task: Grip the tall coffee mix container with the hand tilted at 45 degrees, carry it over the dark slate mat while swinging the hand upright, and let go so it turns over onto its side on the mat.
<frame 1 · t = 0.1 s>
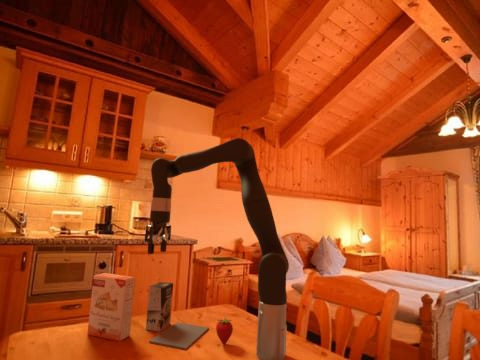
hand: (157, 252, 115), 29 cm above the table, tool pointing down, fingers open, 8 cm apart
coffee box: (158, 327, 118), on the table
cracker box: (108, 336, 107), on the table
slate mat: (181, 335, 111), on the table
strawberry: (223, 345, 105), on the table
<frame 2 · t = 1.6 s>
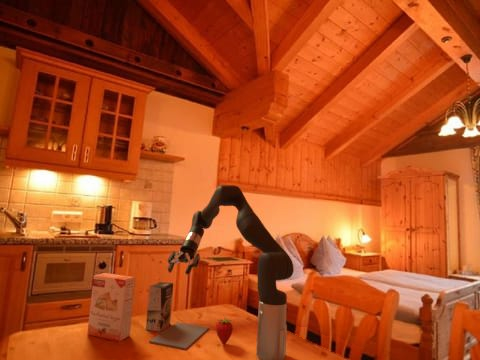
hand: (177, 272, 133), 19 cm above the table, tool tilted 45°, fingers open, 8 cm apart
nothing on the table moved.
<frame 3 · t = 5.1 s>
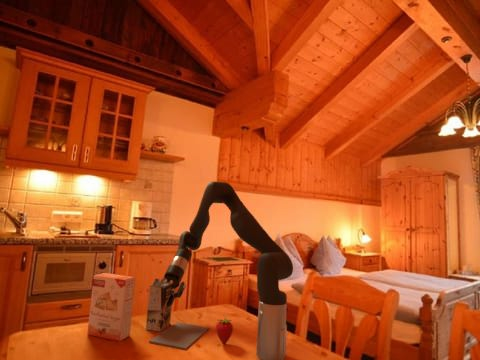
hand: (160, 304, 119), 8 cm above the table, tool tilted 45°, fingers closed on coffee box, 7 cm apart
coffee box: (158, 327, 118), on the table, touching gripper
everything else where it was.
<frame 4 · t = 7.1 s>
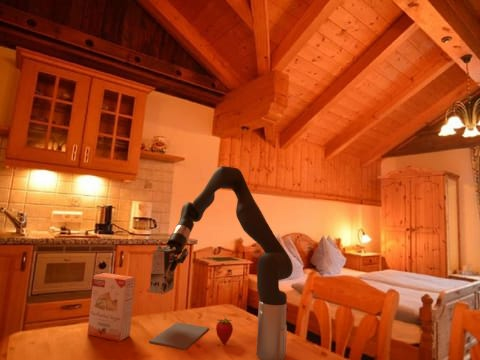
hand: (163, 269, 121), 22 cm above the table, tool tilted 45°, fingers closed on coffee box, 7 cm apart
coffee box: (161, 291, 120), point 13 cm above the table, touching gripper
everything else where it was.
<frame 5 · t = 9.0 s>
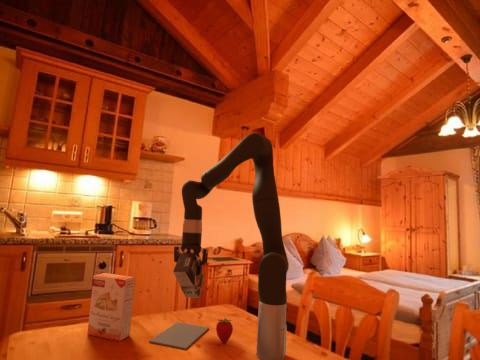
hand: (189, 274, 116), 21 cm above the table, tool pointing down, fingers closed on coffee box, 7 cm apart
coffee box: (195, 287, 121), point 15 cm above the table, touching gripper
everything else where it was.
when the fingers open (11 cm above the table, at t = 11.7 s): coffee box moves 3 cm, resting on slate mat.
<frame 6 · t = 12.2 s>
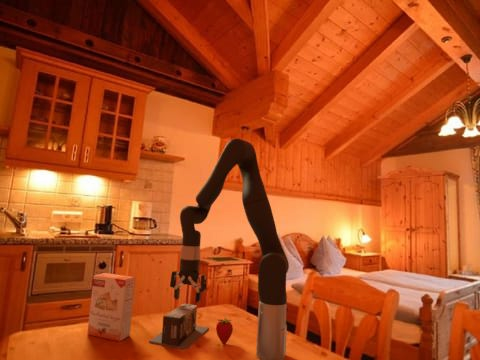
hand: (187, 300, 115), 12 cm above the table, tool pointing down, fingers open, 8 cm apart
coffee box: (189, 315, 117), point 5 cm above the table, touching slate mat
everything else where it was.
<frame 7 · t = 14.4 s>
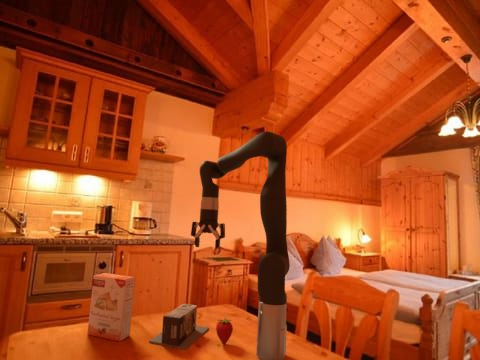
hand: (207, 247, 124), 31 cm above the table, tool pointing down, fingers open, 8 cm apart
nothing on the table moved.
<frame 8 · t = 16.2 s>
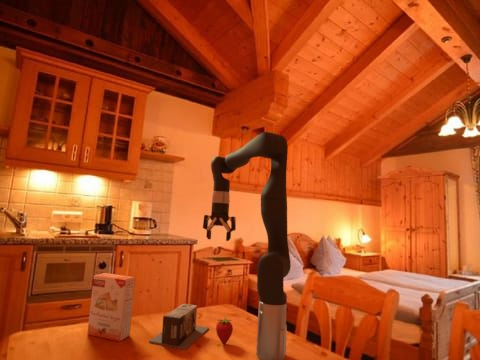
hand: (218, 240, 129), 34 cm above the table, tool pointing down, fingers open, 8 cm apart
nothing on the table moved.
at the end: coffee box tilted 91°; coffee box touching slate mat; the gripper is holding nothing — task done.
